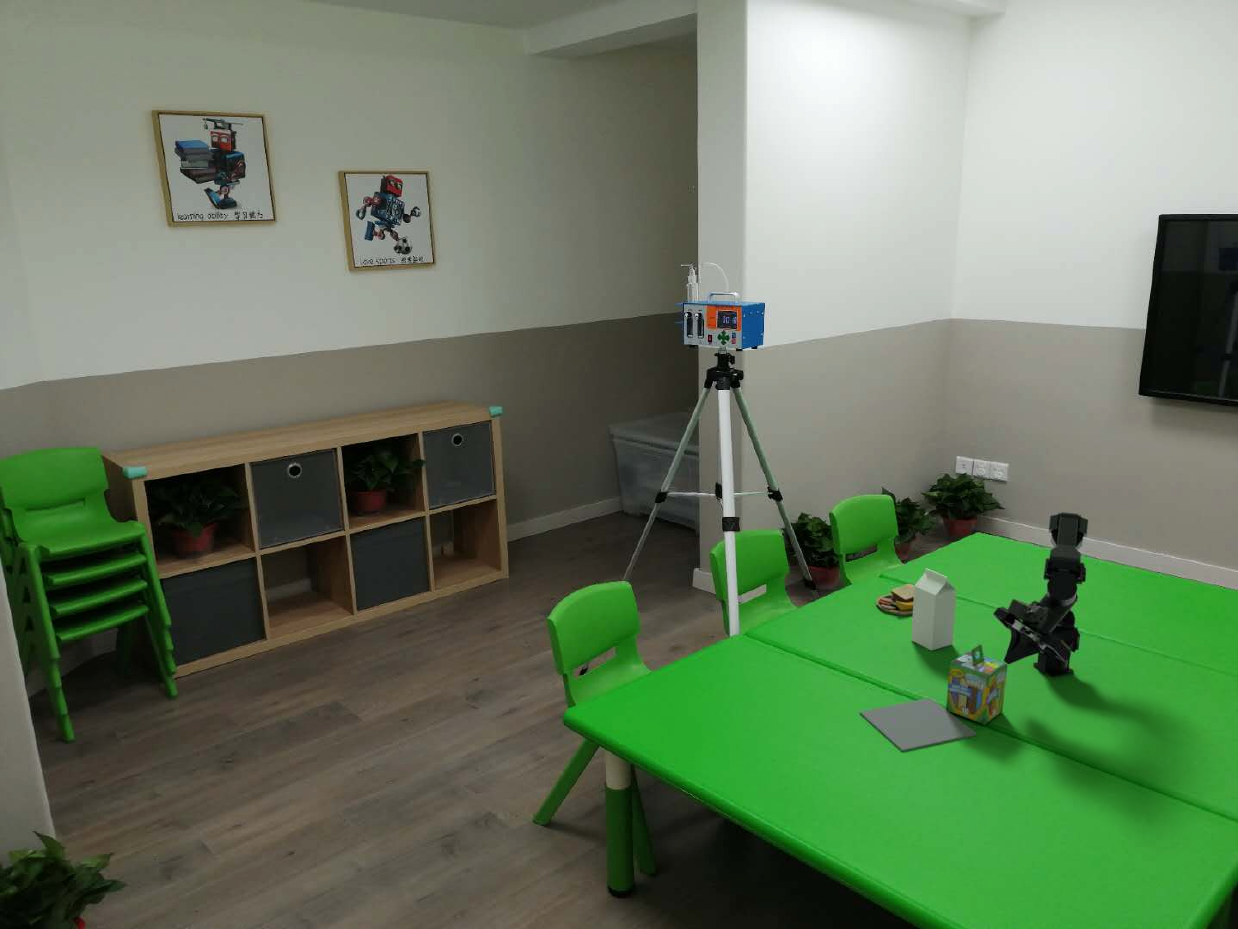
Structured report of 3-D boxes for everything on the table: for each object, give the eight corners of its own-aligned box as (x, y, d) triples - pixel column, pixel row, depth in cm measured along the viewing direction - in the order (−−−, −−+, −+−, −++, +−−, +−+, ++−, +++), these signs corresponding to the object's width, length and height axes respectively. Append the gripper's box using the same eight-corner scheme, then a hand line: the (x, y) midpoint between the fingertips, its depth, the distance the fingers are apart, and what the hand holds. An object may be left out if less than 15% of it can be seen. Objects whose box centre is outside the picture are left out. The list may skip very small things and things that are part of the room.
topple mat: (930, 699, 211) (930, 697, 210) (976, 735, 196) (976, 733, 196) (859, 713, 205) (859, 711, 205) (902, 751, 191) (902, 749, 191)
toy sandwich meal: (867, 601, 265) (868, 585, 263) (911, 595, 267) (912, 580, 266) (890, 619, 253) (890, 602, 252) (935, 613, 256) (936, 597, 254)
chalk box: (984, 726, 198) (991, 661, 195) (944, 710, 205) (950, 647, 201) (1004, 712, 205) (1011, 649, 201) (964, 697, 211) (970, 636, 208)
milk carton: (931, 651, 233) (936, 580, 228) (910, 640, 239) (915, 570, 234) (952, 645, 236) (957, 574, 231) (931, 634, 242) (936, 565, 237)
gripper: (1003, 572, 210) (958, 625, 209) (1065, 603, 193) (1016, 661, 192) (1029, 600, 214) (984, 652, 214) (1092, 633, 197) (1044, 689, 197)
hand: (1006, 662), depth 204 cm, fingers closed
